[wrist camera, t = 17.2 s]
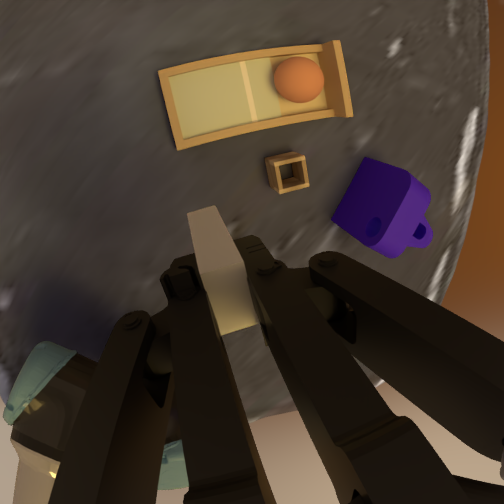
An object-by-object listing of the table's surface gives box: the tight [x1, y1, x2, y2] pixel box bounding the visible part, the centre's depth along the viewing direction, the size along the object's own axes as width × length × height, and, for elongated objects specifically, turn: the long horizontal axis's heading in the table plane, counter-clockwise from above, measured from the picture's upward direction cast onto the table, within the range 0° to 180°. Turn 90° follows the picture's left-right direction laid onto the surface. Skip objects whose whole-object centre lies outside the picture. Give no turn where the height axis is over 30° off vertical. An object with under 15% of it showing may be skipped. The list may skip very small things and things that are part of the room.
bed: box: [158, 40, 353, 151], centre depth 34 cm, size 22×10×5 cm, turn 101°
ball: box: [274, 56, 324, 103], centre depth 34 cm, size 6×6×6 cm
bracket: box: [331, 157, 433, 258], centre depth 44 cm, size 18×11×12 cm, turn 62°
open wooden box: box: [265, 152, 309, 194], centre depth 40 cm, size 4×4×4 cm
